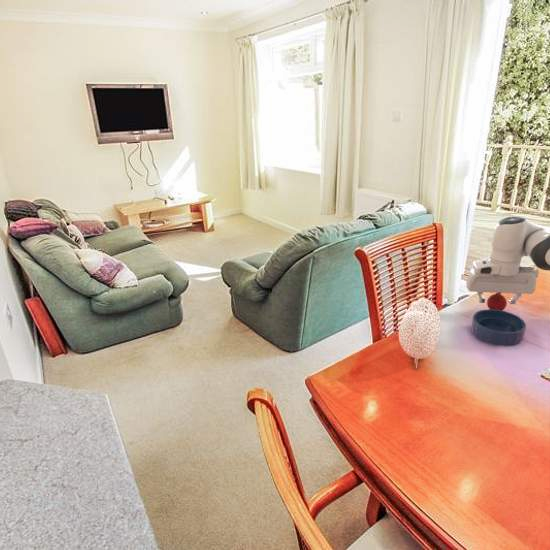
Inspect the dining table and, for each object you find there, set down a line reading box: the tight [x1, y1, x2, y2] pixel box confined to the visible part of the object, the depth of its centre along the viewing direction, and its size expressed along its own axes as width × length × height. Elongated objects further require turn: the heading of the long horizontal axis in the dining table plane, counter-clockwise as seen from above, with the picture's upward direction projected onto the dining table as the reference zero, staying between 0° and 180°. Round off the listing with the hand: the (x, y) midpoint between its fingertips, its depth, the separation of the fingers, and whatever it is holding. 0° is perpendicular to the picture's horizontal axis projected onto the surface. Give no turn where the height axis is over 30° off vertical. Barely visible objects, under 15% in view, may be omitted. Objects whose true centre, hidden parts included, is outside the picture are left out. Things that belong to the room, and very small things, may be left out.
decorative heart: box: [398, 298, 441, 369], centre depth 107 cm, size 18×11×17 cm, turn 150°
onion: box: [486, 293, 508, 311], centre depth 128 cm, size 6×6×8 cm
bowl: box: [470, 308, 527, 347], centre depth 117 cm, size 14×14×5 cm
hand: (496, 302), depth 128 cm, fingers open, 8 cm apart
